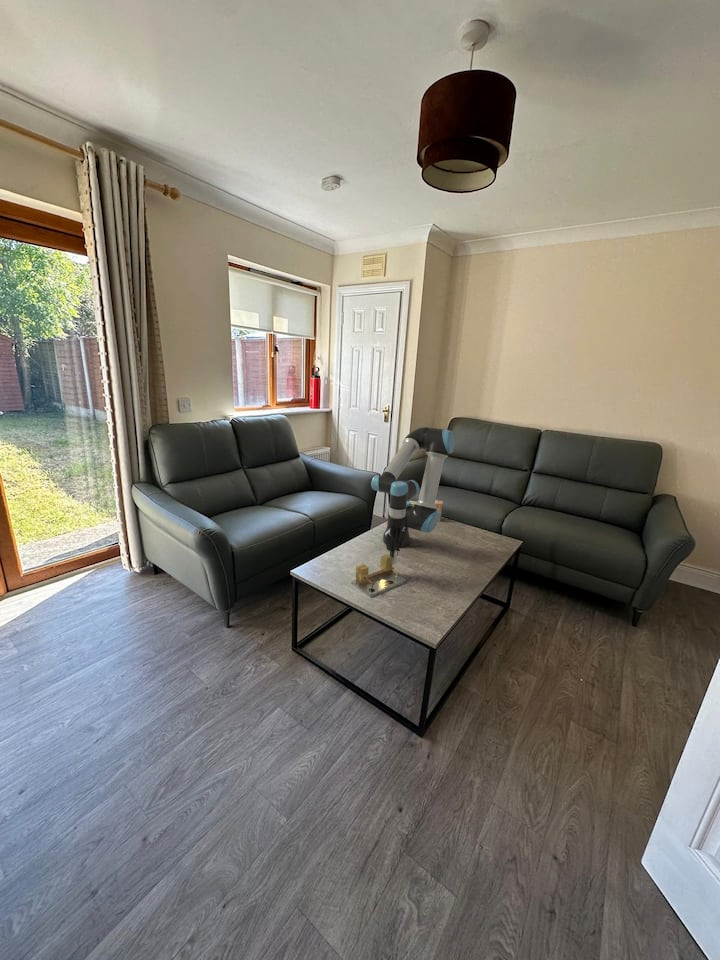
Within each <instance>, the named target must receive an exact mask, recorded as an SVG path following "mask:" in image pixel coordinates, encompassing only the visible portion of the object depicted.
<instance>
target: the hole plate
mask: <svg viewBox="0 0 720 960" xmlns="http://www.w3.org/2000/svg"><path fill="white" fill-rule="evenodd" d="M372 582H373V583H375V584H374V585H373V589H371V583H370V582H367V583H364V584H362V585H359V586H358V585H357V584H356V579H354V580H352V581H351V584H352V585H353V586H355V588H357V589H358V590H360V591H361V592H362V593H364V594H365V595H366V596H368V597H369V598H372V597H375V596H377V595H379V594H382V593H384V592H387V591H389V590H390V589H393V588H395V587H398V586H400V585H402V584H405V583H406V582H407V579H405V578H404V577H402V576H400V575H399V574H398V576H397V579H396V572H392V573H389V574H387V575H384V576H382V577H379V578H377V579H374V580H372Z"/></svg>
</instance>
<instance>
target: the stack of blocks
mask: <svg viewBox="0 0 720 960" xmlns="http://www.w3.org/2000/svg"><path fill="white" fill-rule="evenodd" d="M408 501H409V502H410V503H411V506H414V504H415V503H416V502H417V500H415V501H414V500H408ZM443 505H444V500H438V499H436V500H435V506H436V508H437V509H436V512H438V513H439V516H438V517H439V518H438V522H439V523H440V522H441V520H442V515H443V514H442V512H443ZM438 522H437V523H438Z"/></svg>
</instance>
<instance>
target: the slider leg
mask: <svg viewBox="0 0 720 960" xmlns="http://www.w3.org/2000/svg"><path fill="white" fill-rule="evenodd" d="M392 563H393V557H391V556H390V554H385V555H384V554H383V555H382V556H381V557H380V567H379V568H380V570H384V571H385V572H386V571H388V570H392V571H394V573H395V574H396V579H397V576H398V575H399V574H400V572H399V571H397V570H396V569H395V568H394V567H393V564H392ZM392 567H393V568H394V569H393V568H392Z"/></svg>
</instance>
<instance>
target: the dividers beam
mask: <svg viewBox="0 0 720 960" xmlns="http://www.w3.org/2000/svg"><path fill="white" fill-rule="evenodd" d="M392 568H393V569H394V570H395V567H394V566H392ZM369 571H370V570H369V566H368V565H366V564H365V563H362V564H359V565H356V567H355V580H356V584H357V585H358V586H359V585H362V584H364V583H367V582H370V583H371V589H373V585H374V584H375V583H373V582H372V580H374V579H377V578H379V577H382V576H384V575H387V574H389V573H392V572H394V571H392V570H388V571H386V572H385V571H384V570H382V569H380V570H377V571H375V572H372V573H370V574H369ZM394 573H395V572H394Z"/></svg>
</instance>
